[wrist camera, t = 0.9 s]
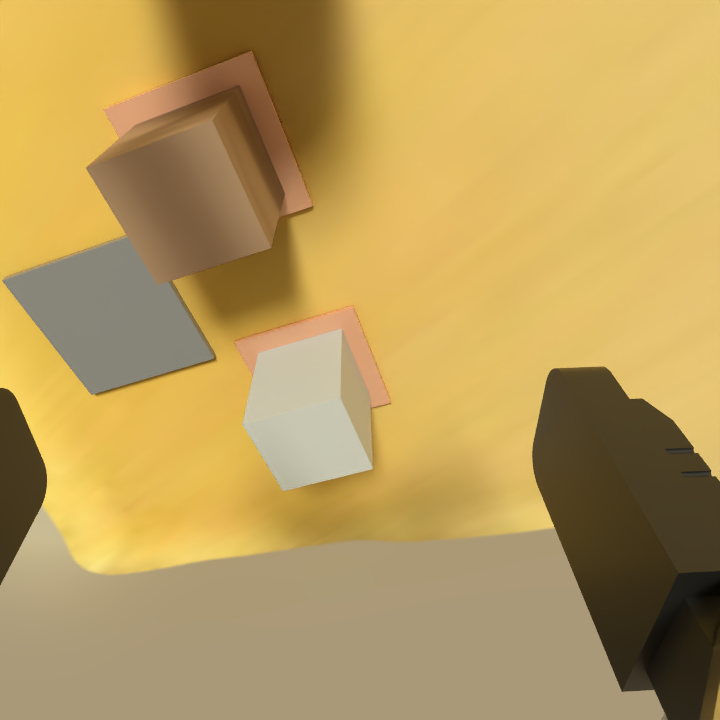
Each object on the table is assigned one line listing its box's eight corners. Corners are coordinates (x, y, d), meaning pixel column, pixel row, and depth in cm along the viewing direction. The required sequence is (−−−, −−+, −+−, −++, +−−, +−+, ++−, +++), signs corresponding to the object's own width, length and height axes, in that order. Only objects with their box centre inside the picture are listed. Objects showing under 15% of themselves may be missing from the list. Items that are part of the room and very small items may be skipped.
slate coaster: (141, 230, 29) (139, 233, 29) (215, 354, 33) (213, 358, 33) (5, 277, 30) (1, 280, 30) (93, 390, 35) (91, 394, 34)
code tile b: (352, 305, 32) (353, 308, 31) (390, 399, 36) (390, 403, 35) (235, 340, 33) (234, 343, 33) (284, 428, 37) (283, 431, 36)
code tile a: (251, 50, 24) (250, 51, 24) (312, 203, 28) (312, 206, 28) (105, 107, 26) (103, 109, 25) (183, 247, 30) (182, 249, 29)
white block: (341, 328, 32) (340, 397, 27) (369, 395, 35) (373, 469, 30) (258, 352, 33) (242, 424, 28) (292, 416, 36) (283, 491, 31)
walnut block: (239, 85, 25) (212, 120, 20) (285, 193, 28) (270, 248, 23) (135, 124, 26) (85, 167, 21) (190, 226, 29) (157, 285, 24)
